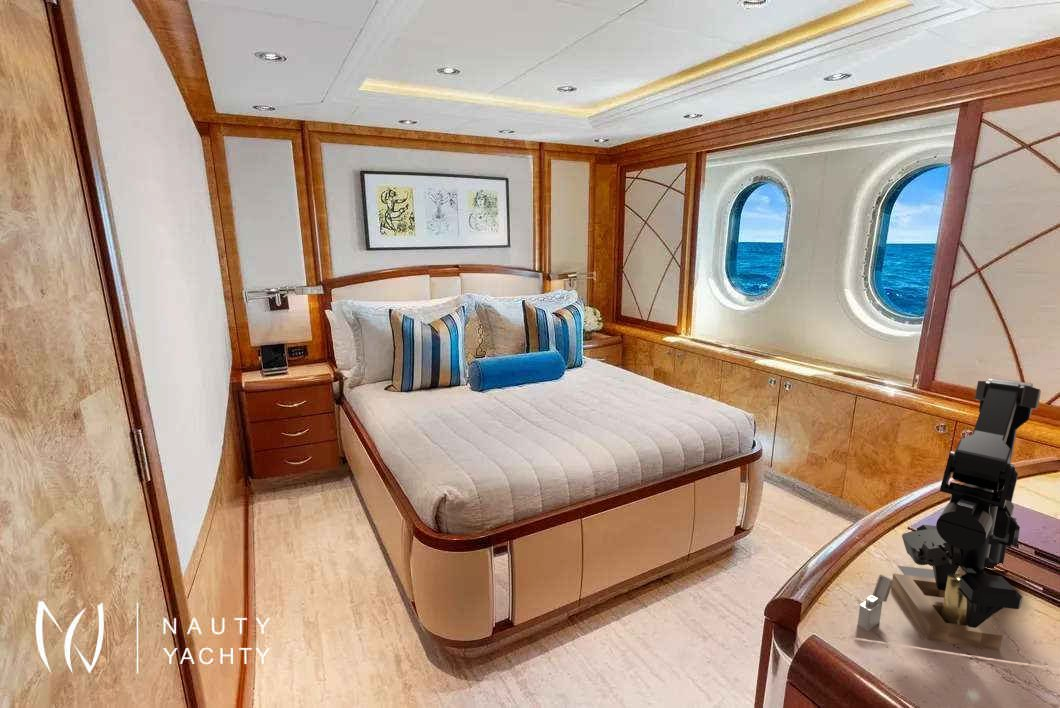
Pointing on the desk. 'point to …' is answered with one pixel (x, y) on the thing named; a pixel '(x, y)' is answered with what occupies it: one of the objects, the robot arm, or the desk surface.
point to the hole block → (930, 612)
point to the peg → (954, 601)
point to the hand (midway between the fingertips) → (955, 607)
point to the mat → (917, 572)
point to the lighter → (874, 604)
